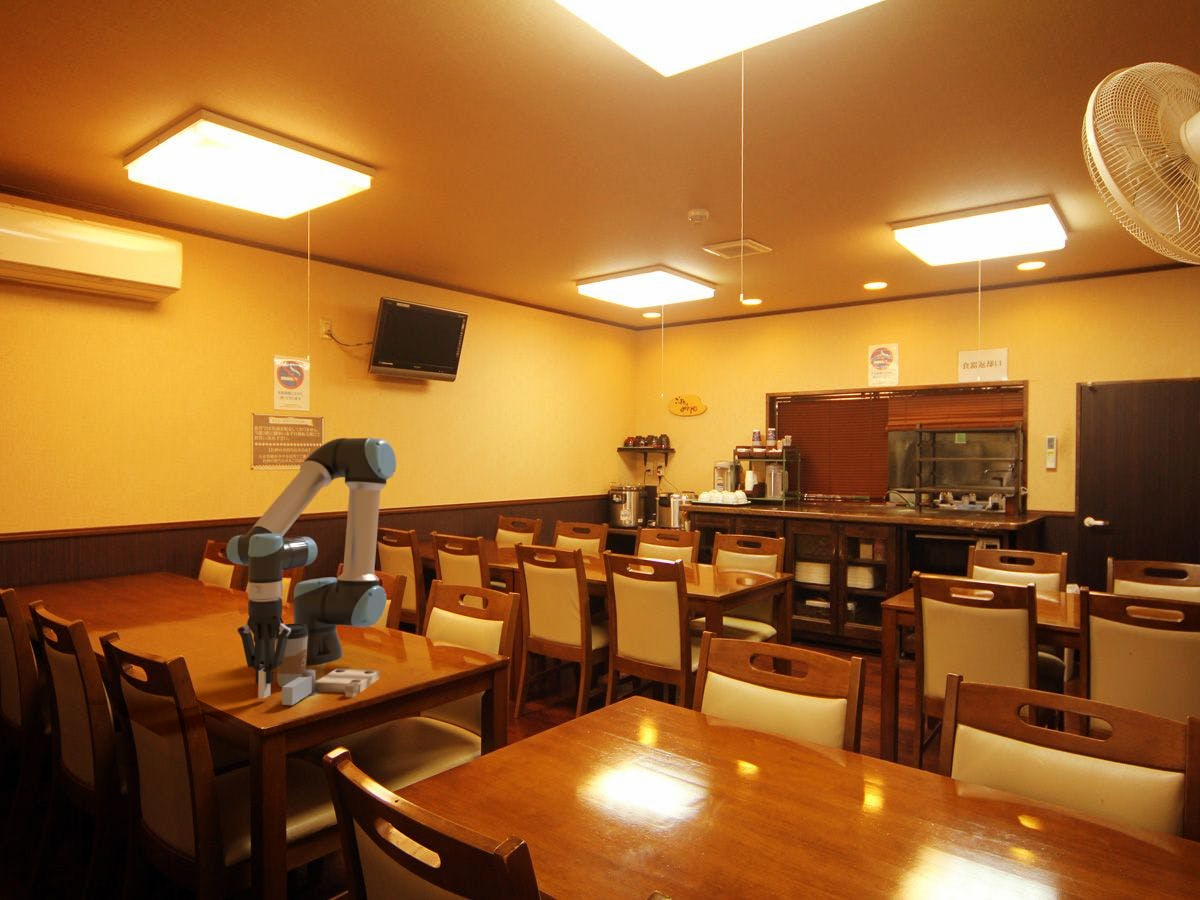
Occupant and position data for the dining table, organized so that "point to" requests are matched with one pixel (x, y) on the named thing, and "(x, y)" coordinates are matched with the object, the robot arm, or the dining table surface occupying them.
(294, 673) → the coffee cup
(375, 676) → the seat panel
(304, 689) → the leg bar
